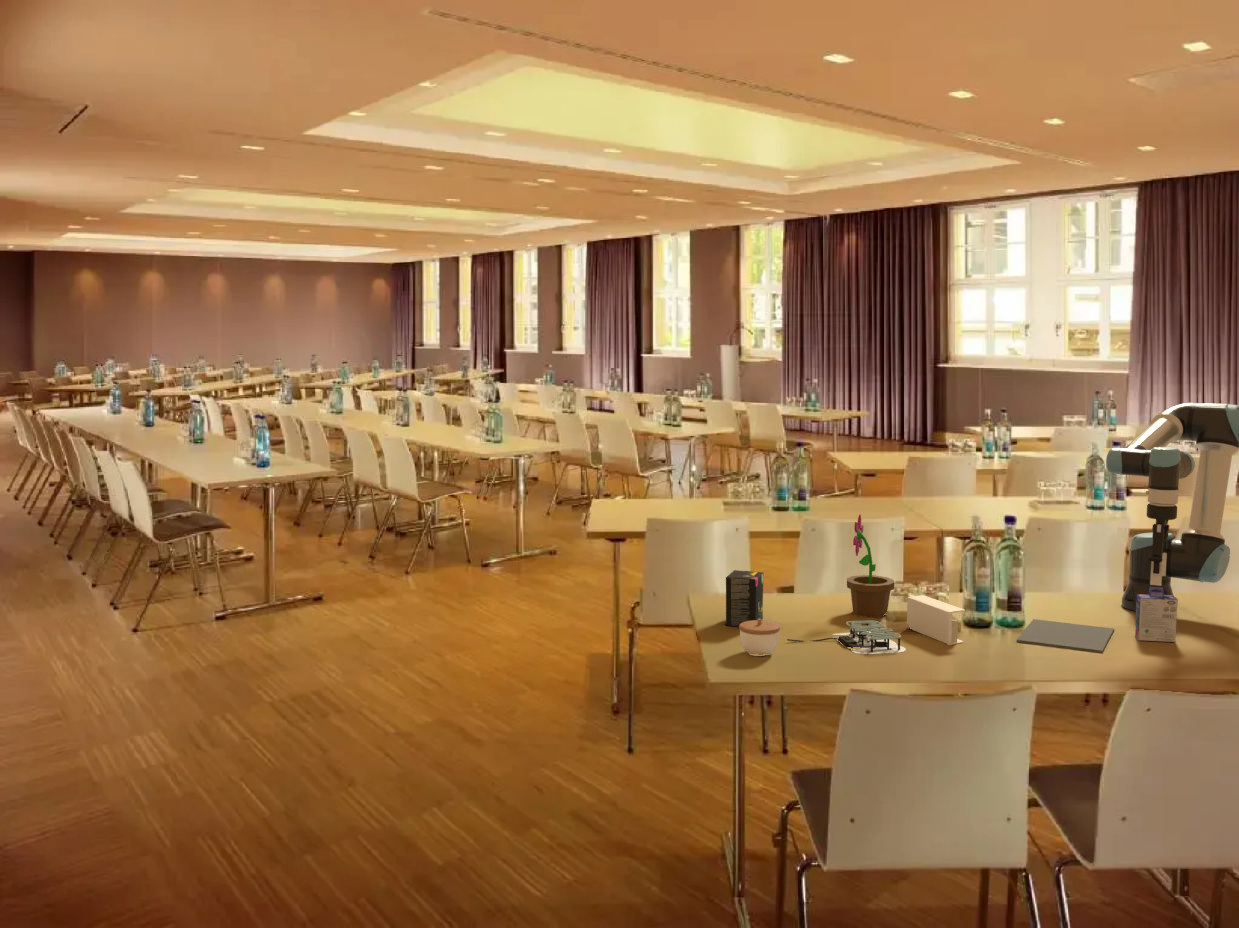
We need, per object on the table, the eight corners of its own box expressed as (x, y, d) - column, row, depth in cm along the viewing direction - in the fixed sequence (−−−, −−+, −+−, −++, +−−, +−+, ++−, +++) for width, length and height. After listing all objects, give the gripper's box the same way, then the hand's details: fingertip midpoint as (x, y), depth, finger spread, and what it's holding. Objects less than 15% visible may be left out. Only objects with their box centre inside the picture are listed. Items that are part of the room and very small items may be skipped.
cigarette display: (964, 643, 315) (965, 610, 314) (947, 645, 313) (948, 612, 312) (919, 625, 334) (920, 594, 333) (903, 627, 332) (904, 595, 331)
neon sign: (780, 623, 322) (878, 618, 327) (780, 638, 323) (878, 632, 328) (806, 644, 301) (911, 638, 307) (806, 660, 302) (910, 653, 307)
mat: (1033, 621, 338) (1033, 619, 338) (1113, 630, 327) (1114, 628, 327) (1016, 641, 316) (1016, 639, 316) (1102, 652, 305) (1102, 650, 305)
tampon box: (756, 628, 331) (756, 579, 329) (724, 626, 334) (725, 577, 332) (763, 619, 342) (764, 571, 340) (733, 616, 345) (733, 569, 343)
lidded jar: (784, 658, 302) (785, 623, 301) (745, 660, 301) (745, 625, 299) (772, 646, 313) (773, 613, 312) (734, 648, 311) (734, 615, 310)
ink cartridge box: (1171, 637, 320) (1174, 586, 318) (1176, 642, 314) (1179, 591, 312) (1133, 635, 322) (1136, 585, 320) (1138, 641, 316) (1140, 589, 314)
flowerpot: (851, 605, 357) (853, 510, 353) (898, 610, 351) (900, 513, 347) (840, 616, 344) (842, 518, 340) (888, 621, 338) (890, 521, 335)
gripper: (1151, 497, 326) (1147, 570, 328) (1142, 509, 304) (1138, 587, 307) (1180, 499, 322) (1176, 573, 325) (1173, 511, 301) (1169, 590, 303)
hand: (1157, 580), depth 316 cm, fingers open, 13 cm apart
